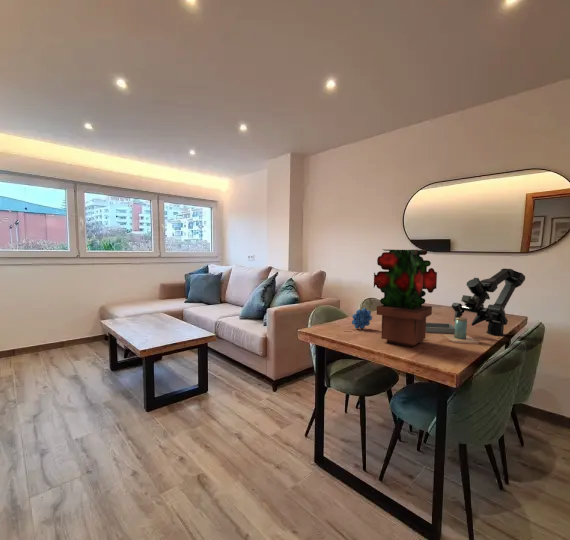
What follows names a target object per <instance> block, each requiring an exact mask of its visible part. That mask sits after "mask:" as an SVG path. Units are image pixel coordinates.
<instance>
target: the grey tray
mask: <svg viewBox="0 0 570 540" xmlns="http://www.w3.org/2000/svg"><path fill="white" fill-rule="evenodd" d="M454 332H455V325H453V324H452V323H444V322H426V333H431V334H432V333H435V334H437V333H438V334H451V335H454Z"/></svg>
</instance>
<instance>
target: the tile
mask: <svg viewBox="0 0 570 540" xmlns="http://www.w3.org/2000/svg"><path fill="white" fill-rule="evenodd" d="M442 335H443V336H444V337H446V338H447V339H448V340H449V341H450V342H451V343H452V344H470V345H479V344H480V342H479V341H478V340H477V339H474V338H473V337H471V336H470V335H467V334H466V339H457V338H455V337H454V334H451V333H442Z"/></svg>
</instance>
